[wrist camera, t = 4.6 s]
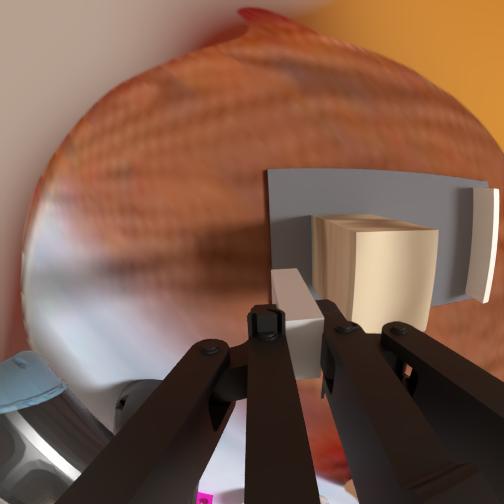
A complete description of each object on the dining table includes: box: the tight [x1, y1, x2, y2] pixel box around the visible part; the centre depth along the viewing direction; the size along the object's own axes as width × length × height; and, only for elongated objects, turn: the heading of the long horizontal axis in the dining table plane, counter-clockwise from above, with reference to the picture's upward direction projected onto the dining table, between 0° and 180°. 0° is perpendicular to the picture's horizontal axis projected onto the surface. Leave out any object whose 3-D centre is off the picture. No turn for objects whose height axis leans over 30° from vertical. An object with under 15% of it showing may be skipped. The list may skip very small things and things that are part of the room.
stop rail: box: [465, 187, 499, 303], centre depth 24 cm, size 1×14×4 cm, turn 2°
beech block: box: [311, 214, 439, 334], centre depth 21 cm, size 6×7×12 cm
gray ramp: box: [267, 168, 488, 307], centre depth 27 cm, size 30×16×1 cm, turn 93°
